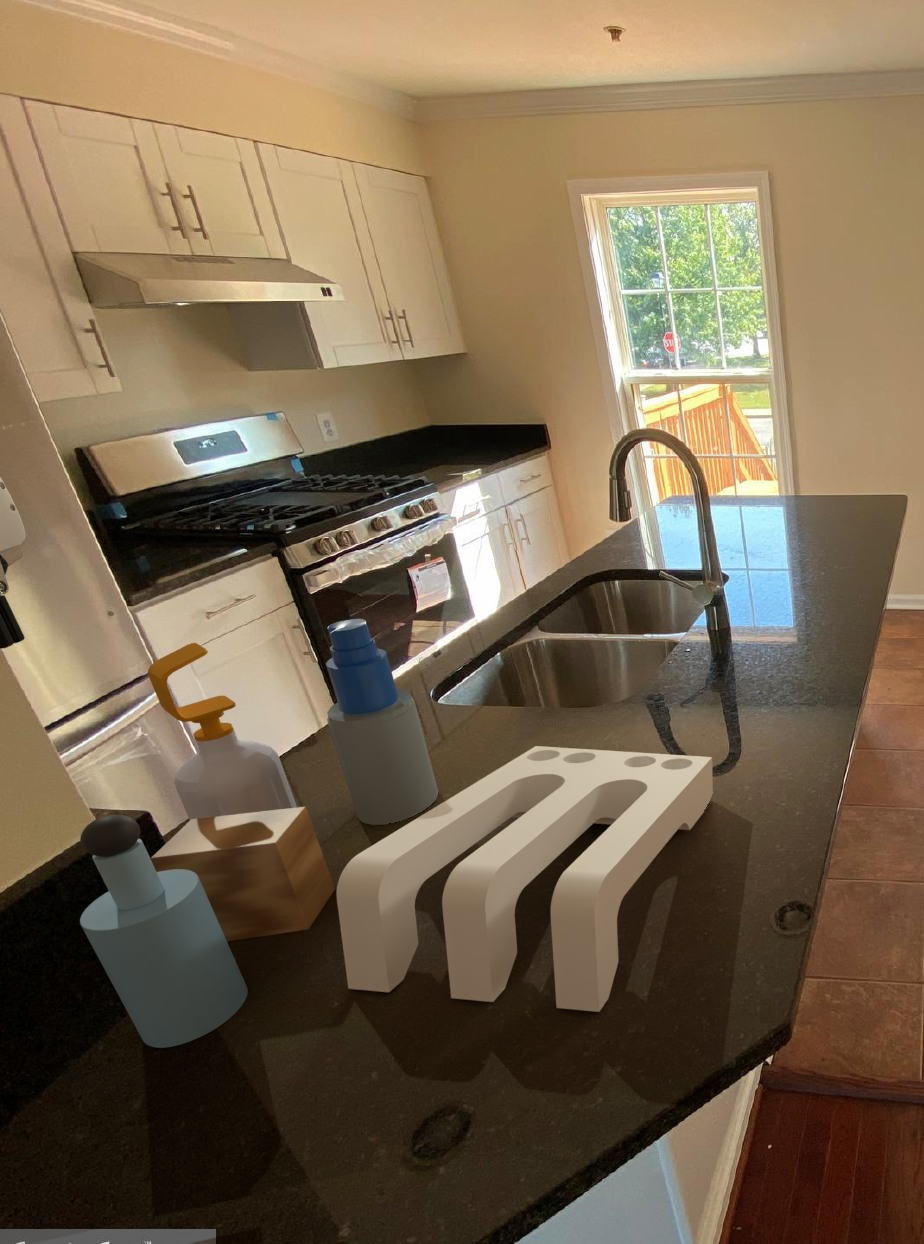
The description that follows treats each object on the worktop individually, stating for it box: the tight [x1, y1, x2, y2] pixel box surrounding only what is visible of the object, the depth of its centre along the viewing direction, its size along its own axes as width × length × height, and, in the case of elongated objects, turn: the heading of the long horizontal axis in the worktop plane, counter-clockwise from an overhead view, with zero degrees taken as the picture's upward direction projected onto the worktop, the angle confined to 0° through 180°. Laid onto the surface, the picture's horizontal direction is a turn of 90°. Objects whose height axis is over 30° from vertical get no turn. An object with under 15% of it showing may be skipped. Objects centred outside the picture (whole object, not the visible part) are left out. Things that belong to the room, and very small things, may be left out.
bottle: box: [79, 814, 248, 1049], centre depth 59 cm, size 13×7×20 cm, turn 12°
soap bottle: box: [147, 642, 298, 821], centre depth 81 cm, size 9×9×25 cm
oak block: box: [150, 806, 336, 943], centre depth 72 cm, size 10×6×11 cm, turn 104°
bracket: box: [335, 745, 714, 1013], centre depth 79 cm, size 24×12×32 cm
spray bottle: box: [325, 618, 439, 826], centre depth 87 cm, size 9×9×25 cm
